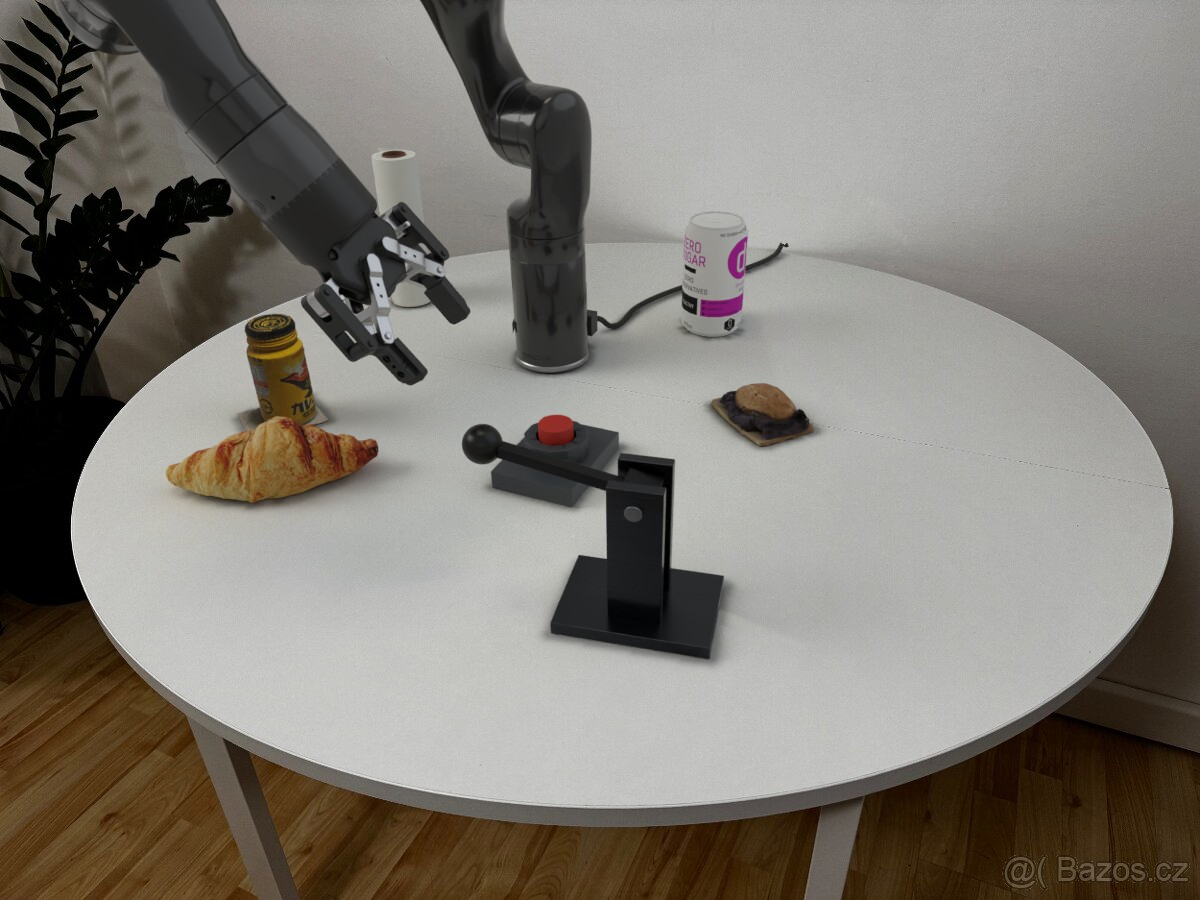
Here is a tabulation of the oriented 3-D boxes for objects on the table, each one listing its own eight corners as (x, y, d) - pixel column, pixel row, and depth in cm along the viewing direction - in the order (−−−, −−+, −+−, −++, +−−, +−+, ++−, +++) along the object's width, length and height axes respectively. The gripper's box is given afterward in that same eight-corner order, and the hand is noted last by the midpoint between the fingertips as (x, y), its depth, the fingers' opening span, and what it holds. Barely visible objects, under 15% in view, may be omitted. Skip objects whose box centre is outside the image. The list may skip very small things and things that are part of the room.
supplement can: (750, 321, 124) (759, 215, 116) (724, 343, 119) (731, 233, 111) (698, 309, 128) (703, 206, 120) (670, 330, 122) (673, 223, 114)
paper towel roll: (430, 308, 130) (411, 158, 119) (388, 308, 130) (366, 159, 119) (438, 289, 136) (421, 145, 125) (398, 289, 136) (378, 145, 125)
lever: (453, 465, 70) (457, 432, 68) (468, 444, 72) (472, 411, 71) (650, 525, 68) (659, 492, 67) (657, 501, 71) (666, 469, 69)
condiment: (328, 421, 103) (309, 325, 96) (254, 443, 99) (228, 344, 93) (308, 396, 108) (288, 303, 102) (237, 416, 104) (211, 321, 98)
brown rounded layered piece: (705, 406, 105) (706, 378, 103) (766, 391, 107) (768, 363, 106) (755, 449, 96) (757, 420, 94) (820, 431, 99) (823, 402, 97)
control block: (545, 431, 100) (543, 400, 98) (619, 447, 97) (619, 415, 95) (492, 487, 91) (488, 454, 89) (572, 507, 88) (570, 473, 86)
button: (548, 426, 94) (547, 411, 93) (579, 432, 93) (579, 418, 92) (532, 442, 91) (531, 428, 90) (564, 449, 90) (563, 435, 89)
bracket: (550, 633, 73) (542, 495, 66) (578, 564, 80) (574, 433, 73) (709, 659, 70) (719, 518, 63) (723, 585, 78) (733, 451, 70)
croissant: (175, 533, 91) (145, 497, 84) (178, 449, 96) (150, 408, 89) (387, 503, 94) (375, 466, 87) (380, 422, 99) (368, 381, 92)
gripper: (274, 210, 59) (435, 387, 66) (373, 121, 69) (505, 283, 76) (216, 256, 64) (373, 417, 70) (317, 166, 73) (447, 316, 80)
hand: (441, 348), depth 73 cm, fingers open, 8 cm apart
